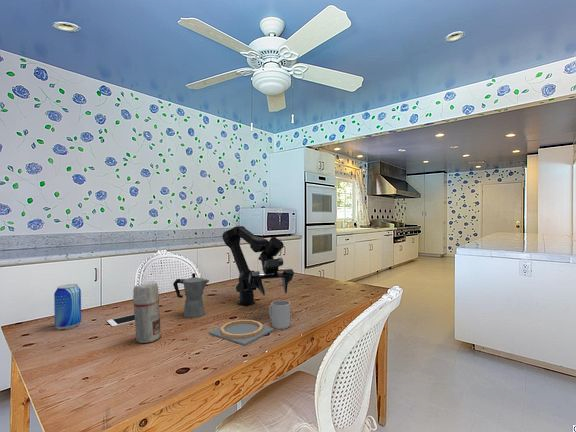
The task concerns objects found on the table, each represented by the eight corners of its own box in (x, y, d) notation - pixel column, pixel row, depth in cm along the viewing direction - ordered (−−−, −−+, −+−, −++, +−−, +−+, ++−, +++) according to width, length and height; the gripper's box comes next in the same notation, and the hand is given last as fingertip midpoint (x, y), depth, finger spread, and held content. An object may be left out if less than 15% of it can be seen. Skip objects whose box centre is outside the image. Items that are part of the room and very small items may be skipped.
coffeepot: (211, 310, 135) (211, 270, 135) (206, 317, 126) (206, 275, 126) (177, 311, 135) (176, 271, 135) (169, 318, 125) (169, 275, 125)
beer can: (86, 323, 120) (85, 284, 120) (64, 331, 112) (64, 289, 112) (71, 321, 123) (70, 282, 123) (49, 329, 115) (48, 287, 115)
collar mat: (208, 333, 109) (208, 328, 109) (239, 320, 122) (239, 316, 122) (244, 345, 99) (244, 340, 98) (274, 330, 112) (274, 325, 112)
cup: (281, 331, 111) (280, 306, 111) (262, 324, 118) (262, 301, 118) (294, 325, 116) (293, 302, 116) (275, 319, 123) (275, 297, 123)
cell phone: (159, 317, 129) (159, 314, 129) (112, 328, 116) (112, 325, 116) (151, 312, 135) (151, 310, 135) (106, 322, 123) (106, 320, 123)
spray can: (143, 346, 99) (142, 285, 99) (129, 341, 103) (128, 283, 103) (166, 337, 106) (165, 281, 106) (151, 332, 110) (151, 278, 110)
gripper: (249, 252, 123) (255, 284, 113) (292, 250, 129) (301, 280, 118) (246, 268, 131) (251, 300, 120) (286, 265, 136) (295, 295, 126)
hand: (275, 294), depth 121 cm, fingers open, 9 cm apart
